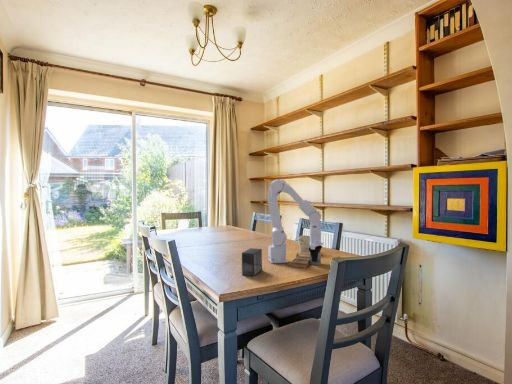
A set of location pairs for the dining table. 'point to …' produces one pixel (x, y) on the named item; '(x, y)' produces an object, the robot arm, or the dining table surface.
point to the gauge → (311, 258)
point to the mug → (304, 243)
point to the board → (301, 261)
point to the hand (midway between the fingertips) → (315, 260)
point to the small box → (251, 262)
